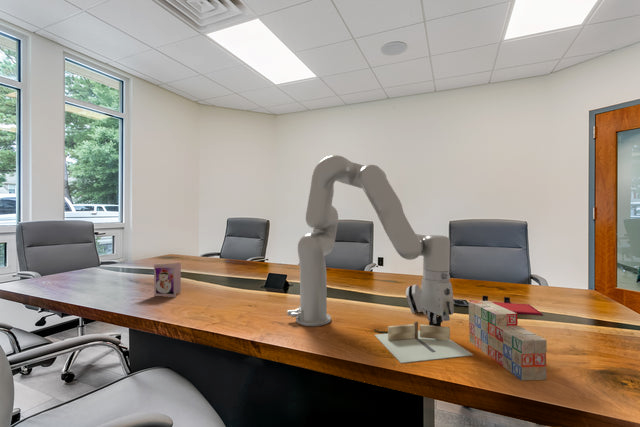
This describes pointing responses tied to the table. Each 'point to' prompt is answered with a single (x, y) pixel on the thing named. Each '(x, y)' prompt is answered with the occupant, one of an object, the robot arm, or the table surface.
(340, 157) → the robot arm
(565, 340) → the table surface
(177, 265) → the greeting card
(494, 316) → the stack of blocks
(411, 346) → the card
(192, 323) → the table surface
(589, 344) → the table surface
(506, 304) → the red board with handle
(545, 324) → the table surface
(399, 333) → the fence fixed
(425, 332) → the panel
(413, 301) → the grey piece
